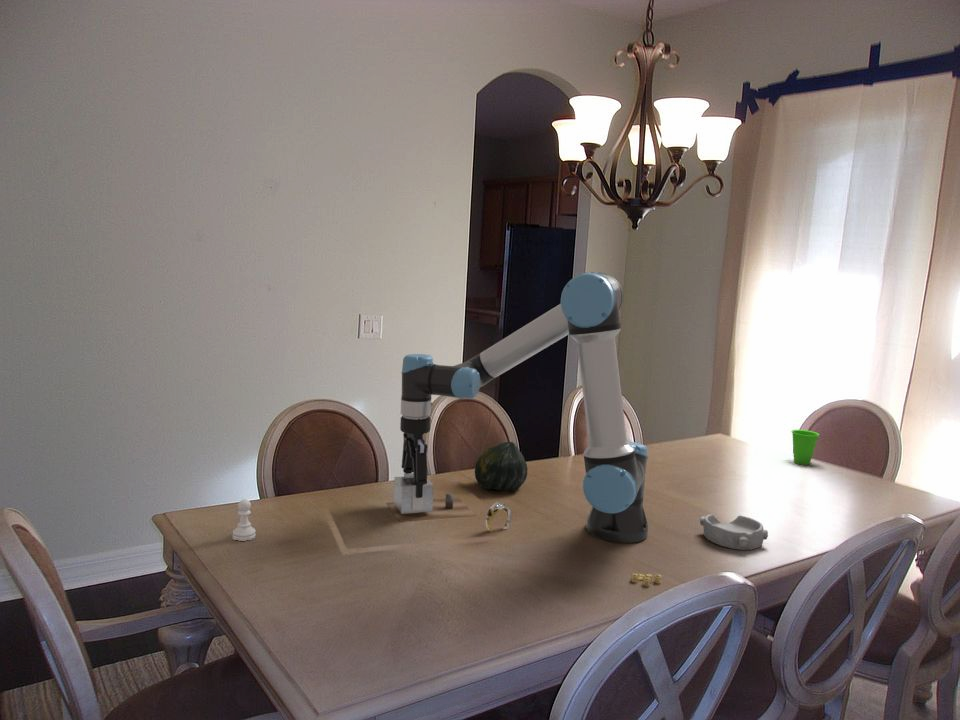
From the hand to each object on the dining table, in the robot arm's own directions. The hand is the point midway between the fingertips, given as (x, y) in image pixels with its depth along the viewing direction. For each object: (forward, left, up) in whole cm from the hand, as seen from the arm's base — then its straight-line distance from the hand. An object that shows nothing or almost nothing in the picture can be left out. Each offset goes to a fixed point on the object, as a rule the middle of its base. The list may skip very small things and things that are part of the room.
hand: (412, 503), depth 185 cm
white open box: (0, 0, -1) cm, 1 cm away
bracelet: (-17, -17, -3) cm, 24 cm away
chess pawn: (-6, +41, -3) cm, 42 cm away
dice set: (-48, -38, -4) cm, 62 cm away
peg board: (0, -5, -3) cm, 6 cm away
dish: (-34, -73, -4) cm, 80 cm away
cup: (+21, -148, -3) cm, 149 cm away
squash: (+16, -31, -3) cm, 35 cm away
